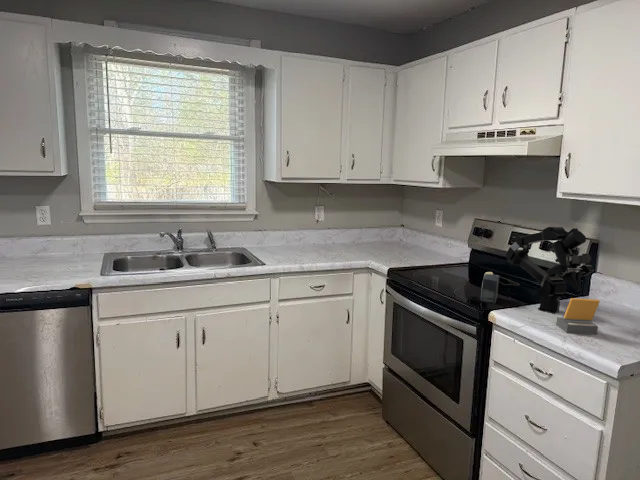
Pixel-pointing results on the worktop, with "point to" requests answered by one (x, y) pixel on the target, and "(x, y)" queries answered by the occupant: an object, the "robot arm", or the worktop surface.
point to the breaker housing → (577, 326)
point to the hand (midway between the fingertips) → (578, 290)
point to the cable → (504, 278)
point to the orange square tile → (581, 309)
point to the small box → (490, 288)
